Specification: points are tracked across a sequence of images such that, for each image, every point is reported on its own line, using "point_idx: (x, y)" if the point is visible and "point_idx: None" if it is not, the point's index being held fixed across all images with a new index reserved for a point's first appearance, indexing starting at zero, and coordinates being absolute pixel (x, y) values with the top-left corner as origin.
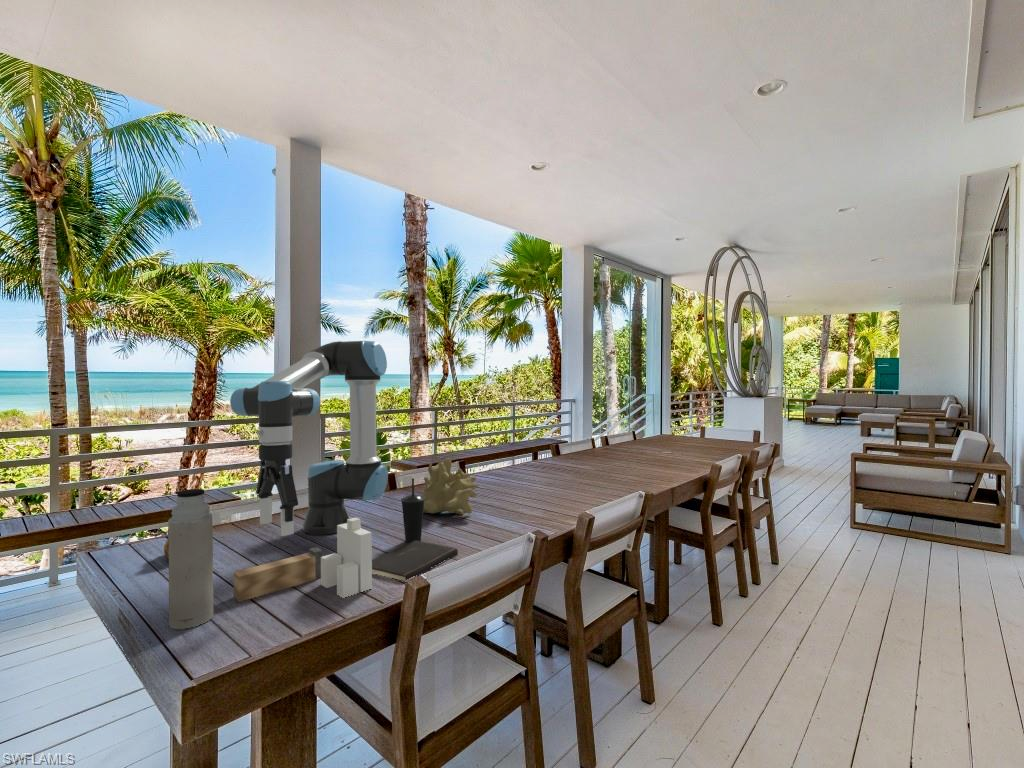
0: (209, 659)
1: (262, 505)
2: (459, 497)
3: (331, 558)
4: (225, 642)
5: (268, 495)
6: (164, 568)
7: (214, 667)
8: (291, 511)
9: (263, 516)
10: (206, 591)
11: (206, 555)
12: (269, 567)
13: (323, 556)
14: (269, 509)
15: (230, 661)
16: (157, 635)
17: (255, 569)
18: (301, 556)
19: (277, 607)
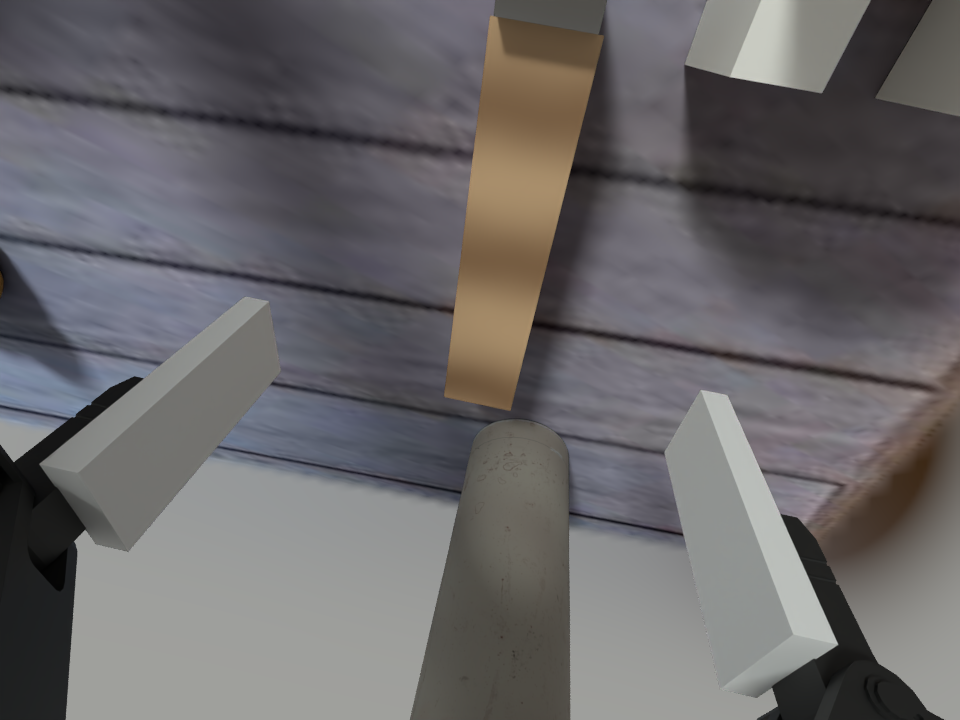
0: None
1: (177, 479)
2: None
3: (847, 40)
4: None
5: (33, 506)
6: (55, 331)
7: None
8: (849, 635)
9: (243, 395)
10: (566, 518)
11: (565, 640)
12: (520, 306)
13: (743, 54)
14: (194, 389)
15: (806, 508)
16: None
17: (490, 348)
18: (516, 103)
19: (679, 316)
